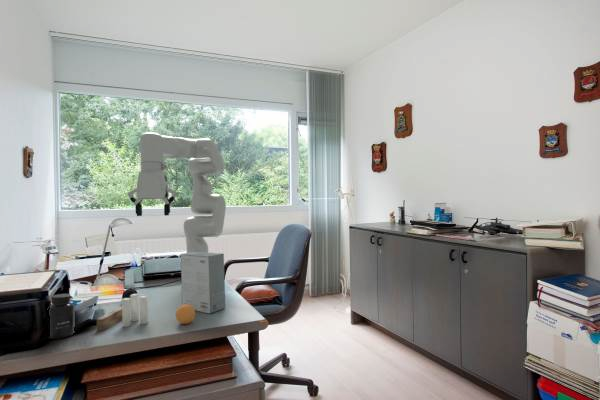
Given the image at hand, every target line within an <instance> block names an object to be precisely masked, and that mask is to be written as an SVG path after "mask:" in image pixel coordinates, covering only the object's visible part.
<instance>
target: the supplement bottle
mask: <svg viewBox="0 0 600 400" xmlns="http://www.w3.org/2000/svg"><path fill="white" fill-rule="evenodd" d="M71 299H72V298H71V293H61V294H60V293H57V294H54V295H52V296H51V300H50V303H51V305H49V306H50V309H49V315H50V338H51V340H59V339H60V340H61V339H64V338H69V337H71V336H72V335H74V334H73V333H75V331H74V327H75V304H74V303H72V302H71ZM50 338H49V339H50Z"/></svg>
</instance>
